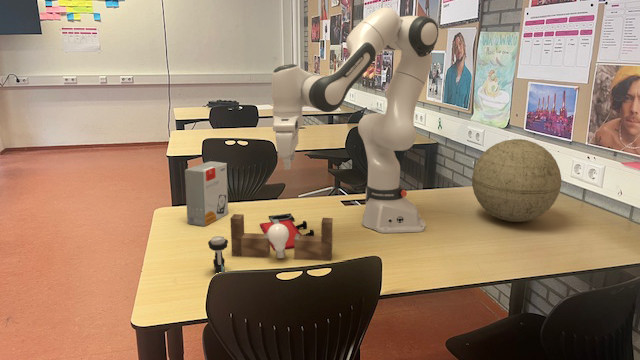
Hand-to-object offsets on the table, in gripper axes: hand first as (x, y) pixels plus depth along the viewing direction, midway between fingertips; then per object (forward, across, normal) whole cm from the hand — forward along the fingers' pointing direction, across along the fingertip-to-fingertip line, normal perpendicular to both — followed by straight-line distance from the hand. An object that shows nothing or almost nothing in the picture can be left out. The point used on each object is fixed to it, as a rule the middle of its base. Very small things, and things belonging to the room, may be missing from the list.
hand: (289, 165), depth 148 cm
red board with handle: (+27, -10, -4) cm, 29 cm away
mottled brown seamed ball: (+29, -30, +78) cm, 88 cm away
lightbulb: (+26, +12, -2) cm, 29 cm away
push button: (+25, +22, -18) cm, 38 cm away
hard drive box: (+26, -19, -34) cm, 46 cm away
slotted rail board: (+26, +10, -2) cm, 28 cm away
